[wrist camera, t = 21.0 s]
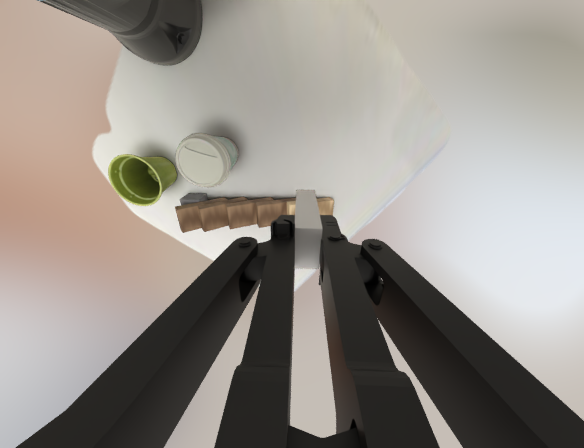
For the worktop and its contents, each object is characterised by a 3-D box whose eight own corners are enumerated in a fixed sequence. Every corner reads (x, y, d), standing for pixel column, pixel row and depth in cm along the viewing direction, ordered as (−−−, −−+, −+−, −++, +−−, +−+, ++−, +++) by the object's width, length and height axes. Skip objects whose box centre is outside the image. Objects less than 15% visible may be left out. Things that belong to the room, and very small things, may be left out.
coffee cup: (253, 154, 43) (238, 166, 33) (226, 180, 46) (204, 200, 35) (221, 119, 40) (193, 120, 30) (195, 149, 43) (160, 160, 33)
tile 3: (270, 196, 47) (225, 203, 43) (274, 199, 46) (227, 207, 42) (271, 216, 50) (228, 225, 46) (274, 220, 48) (230, 229, 44)
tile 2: (299, 197, 47) (255, 202, 44) (303, 200, 45) (257, 205, 42) (299, 217, 49) (257, 223, 46) (302, 220, 48) (259, 227, 45)
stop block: (188, 193, 48) (179, 199, 44) (206, 193, 47) (198, 199, 44) (194, 217, 50) (186, 224, 47) (210, 217, 50) (204, 225, 47)
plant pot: (134, 173, 46) (100, 184, 38) (150, 137, 42) (117, 142, 35) (173, 199, 48) (149, 215, 41) (192, 168, 45) (170, 178, 37)
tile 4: (243, 196, 47) (197, 206, 42) (247, 199, 46) (199, 209, 41) (245, 216, 50) (201, 228, 45) (249, 219, 48) (204, 231, 43)
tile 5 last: (224, 197, 47) (174, 206, 42) (227, 199, 46) (176, 210, 40) (227, 217, 49) (180, 229, 44) (230, 220, 48) (182, 232, 42)
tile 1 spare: (329, 197, 47) (286, 201, 44) (334, 200, 45) (289, 205, 43) (328, 217, 49) (286, 222, 47) (331, 221, 47) (289, 226, 45)
